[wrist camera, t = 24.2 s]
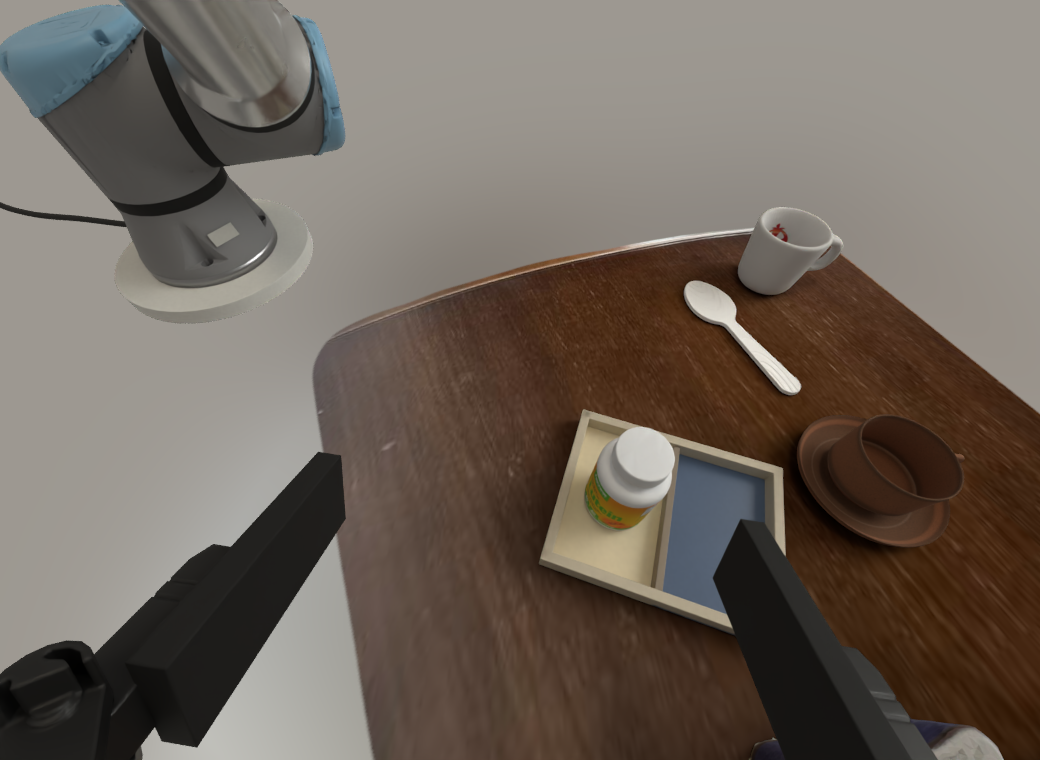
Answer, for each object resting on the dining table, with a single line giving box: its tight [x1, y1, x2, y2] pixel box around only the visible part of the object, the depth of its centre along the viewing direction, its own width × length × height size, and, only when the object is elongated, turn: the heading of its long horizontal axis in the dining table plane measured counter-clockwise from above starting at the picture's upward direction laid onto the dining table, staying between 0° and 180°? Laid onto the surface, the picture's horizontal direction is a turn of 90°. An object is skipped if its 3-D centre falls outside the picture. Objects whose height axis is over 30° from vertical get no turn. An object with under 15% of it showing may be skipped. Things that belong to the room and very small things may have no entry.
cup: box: [738, 207, 843, 295], centre depth 49 cm, size 11×8×8 cm
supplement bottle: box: [584, 427, 675, 531], centre depth 31 cm, size 5×5×10 cm
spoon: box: [684, 280, 801, 395], centre depth 47 cm, size 5×18×1 cm, turn 23°
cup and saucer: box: [797, 415, 964, 547], centre depth 35 cm, size 12×12×6 cm
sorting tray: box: [539, 410, 785, 636], centre depth 34 cm, size 18×14×2 cm
